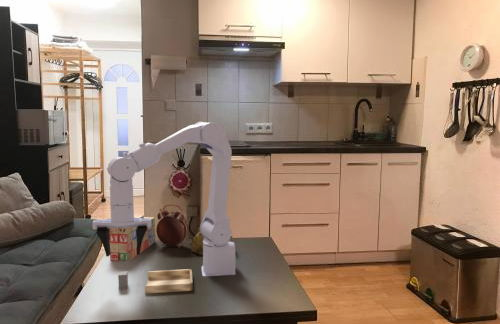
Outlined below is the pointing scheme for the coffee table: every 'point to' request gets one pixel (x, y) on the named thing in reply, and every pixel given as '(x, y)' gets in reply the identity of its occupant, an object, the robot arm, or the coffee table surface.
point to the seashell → (200, 243)
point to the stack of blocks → (129, 241)
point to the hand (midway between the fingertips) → (123, 254)
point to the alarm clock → (172, 227)
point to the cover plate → (123, 280)
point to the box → (169, 281)
